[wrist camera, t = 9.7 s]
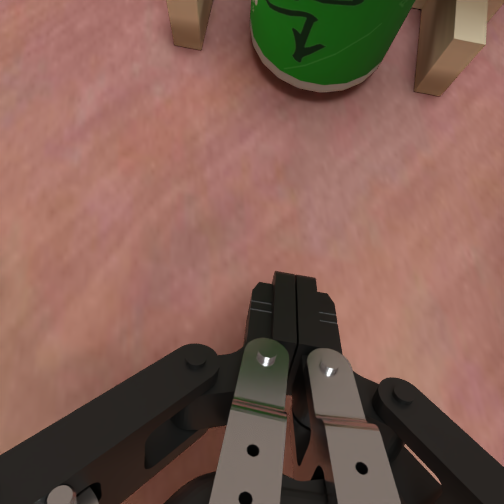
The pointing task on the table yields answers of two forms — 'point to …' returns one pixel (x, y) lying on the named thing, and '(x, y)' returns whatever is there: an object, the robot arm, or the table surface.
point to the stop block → (429, 47)
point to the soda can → (325, 39)
